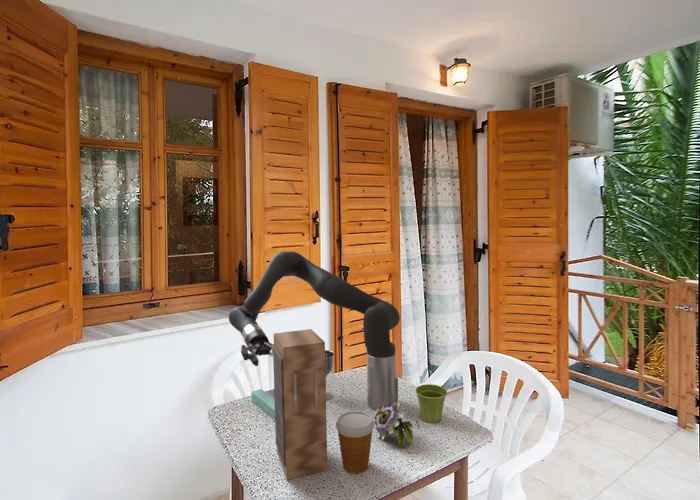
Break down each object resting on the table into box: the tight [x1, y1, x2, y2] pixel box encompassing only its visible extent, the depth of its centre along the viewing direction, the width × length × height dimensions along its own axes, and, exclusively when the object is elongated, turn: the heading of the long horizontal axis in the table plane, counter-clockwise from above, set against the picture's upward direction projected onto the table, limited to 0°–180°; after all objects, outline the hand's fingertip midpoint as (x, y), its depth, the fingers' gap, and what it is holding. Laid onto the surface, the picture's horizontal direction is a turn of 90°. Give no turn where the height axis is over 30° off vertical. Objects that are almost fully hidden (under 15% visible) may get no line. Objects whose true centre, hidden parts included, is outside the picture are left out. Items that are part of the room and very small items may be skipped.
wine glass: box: [325, 349, 335, 402], centre depth 138 cm, size 8×8×15 cm
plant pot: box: [415, 383, 448, 424], centre depth 122 cm, size 9×9×9 cm
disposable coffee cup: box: [335, 410, 375, 475], centre depth 99 cm, size 10×10×12 cm
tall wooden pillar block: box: [272, 328, 328, 481], centre depth 100 cm, size 10×12×32 cm
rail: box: [251, 388, 275, 421], centre depth 127 cm, size 4×24×4 cm, turn 38°
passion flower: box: [373, 400, 421, 449], centre depth 112 cm, size 11×11×12 cm
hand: (269, 362), depth 134 cm, fingers open, 8 cm apart
